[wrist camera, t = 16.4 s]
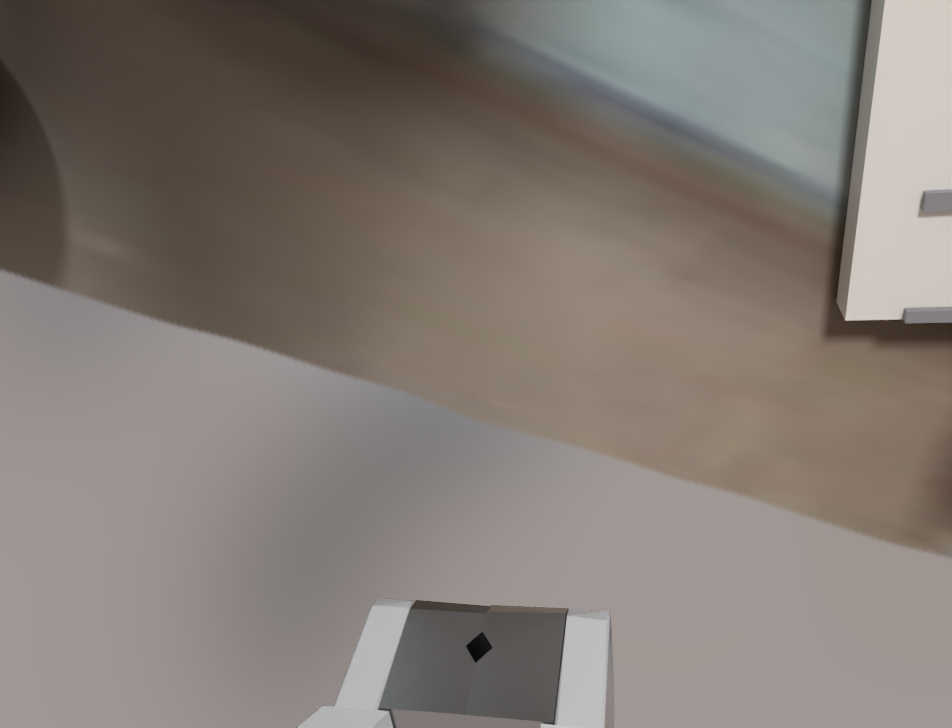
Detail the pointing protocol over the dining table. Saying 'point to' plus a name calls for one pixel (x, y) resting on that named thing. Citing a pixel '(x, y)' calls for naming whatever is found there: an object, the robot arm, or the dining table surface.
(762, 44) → the dining table surface
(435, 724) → the robot arm
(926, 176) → the white base plate
